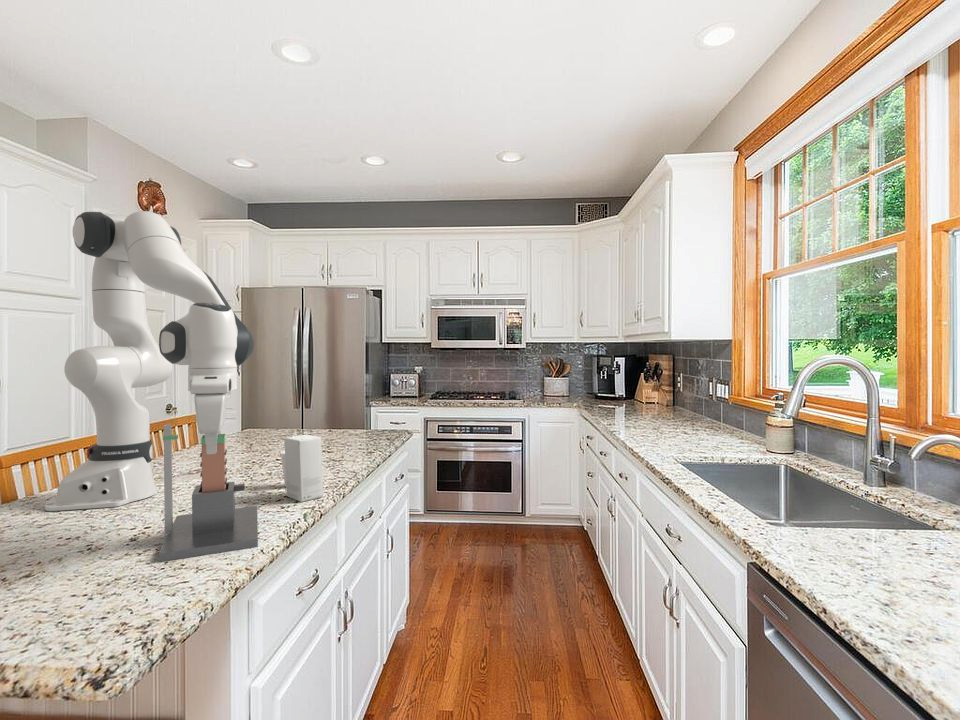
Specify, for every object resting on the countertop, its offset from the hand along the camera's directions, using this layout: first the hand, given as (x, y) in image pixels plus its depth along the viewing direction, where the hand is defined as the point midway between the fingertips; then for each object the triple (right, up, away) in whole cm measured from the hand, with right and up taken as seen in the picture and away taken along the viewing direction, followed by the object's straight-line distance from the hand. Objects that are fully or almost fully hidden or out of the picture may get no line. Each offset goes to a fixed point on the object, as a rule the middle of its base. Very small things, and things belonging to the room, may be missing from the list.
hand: (213, 449), depth 99 cm
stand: (0, -18, 0) cm, 18 cm away
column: (0, -10, 0) cm, 10 cm away
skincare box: (+9, -17, +25) cm, 32 cm away
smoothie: (+2, -17, +35) cm, 40 cm away
